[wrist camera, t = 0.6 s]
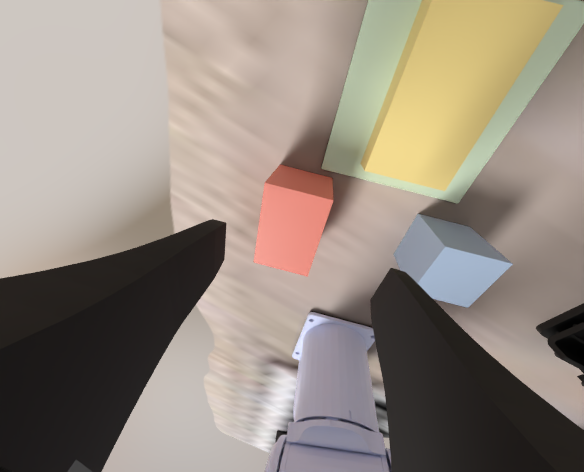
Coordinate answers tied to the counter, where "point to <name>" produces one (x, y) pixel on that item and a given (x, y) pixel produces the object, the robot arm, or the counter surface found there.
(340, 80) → the counter surface
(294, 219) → the red brick
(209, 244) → the robot arm
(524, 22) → the mustard brick
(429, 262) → the blue brick
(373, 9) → the baseplate
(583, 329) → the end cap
